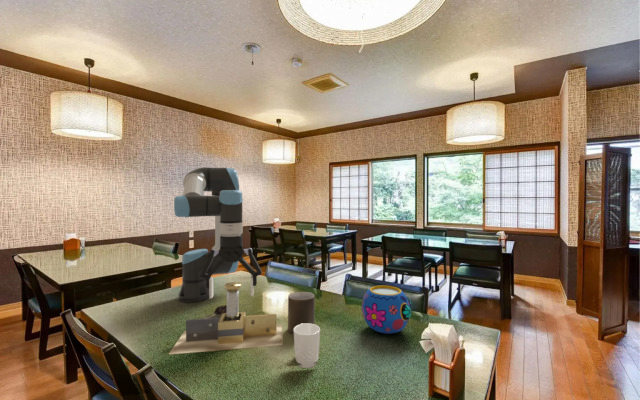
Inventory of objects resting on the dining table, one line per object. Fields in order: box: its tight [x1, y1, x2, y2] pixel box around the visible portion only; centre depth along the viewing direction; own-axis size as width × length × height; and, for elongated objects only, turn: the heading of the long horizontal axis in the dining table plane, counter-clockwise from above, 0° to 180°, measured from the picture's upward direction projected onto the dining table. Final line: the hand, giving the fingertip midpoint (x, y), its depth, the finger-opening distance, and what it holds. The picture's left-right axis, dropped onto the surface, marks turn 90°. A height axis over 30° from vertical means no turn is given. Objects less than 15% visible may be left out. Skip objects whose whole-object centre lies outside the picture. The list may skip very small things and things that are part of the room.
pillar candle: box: [287, 291, 316, 336], centre depth 106 cm, size 10×10×15 cm
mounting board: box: [167, 323, 284, 355], centre depth 100 cm, size 16×35×1 cm, turn 99°
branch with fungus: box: [199, 304, 227, 319], centre depth 115 cm, size 18×7×6 cm, turn 142°
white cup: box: [293, 323, 321, 369], centre depth 87 cm, size 8×8×10 cm
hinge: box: [185, 311, 277, 344], centre depth 100 cm, size 8×30×7 cm, turn 99°
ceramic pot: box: [361, 285, 412, 335], centre depth 107 cm, size 18×18×15 cm
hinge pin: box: [224, 281, 242, 321], centre depth 100 cm, size 5×5×18 cm
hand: (232, 296), depth 100 cm, fingers open, 13 cm apart
